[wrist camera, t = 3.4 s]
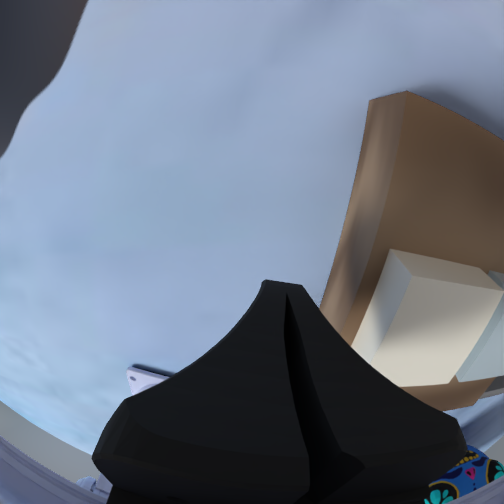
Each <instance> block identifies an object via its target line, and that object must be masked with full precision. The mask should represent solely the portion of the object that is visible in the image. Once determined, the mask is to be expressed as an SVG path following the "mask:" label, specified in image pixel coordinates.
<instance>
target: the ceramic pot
mask: <svg viewBox="0 0 504 504" xmlns="http://www.w3.org/2000/svg"><path fill="white" fill-rule="evenodd" d="M467 447H468V449H467V452H466V454H465V456H464V458H463V459H462V460H461V461H460V462H459V463H458V464H457V465H456V466H454V467H453V468H452V469H451V470H449V471H448V472H447V473H445V474H444V475H442V476H441V477H440V478H438V479H437V480H435V481H434V482H432V483H431V484H429V488H430V493H431V494H430V497H428V498H426V499H424V500H425V504H445V503H448V502H450V501H453V500H455V499H457V498H460V497H462V496H464V495H467V494H469V493H471V492H473V491H475V490H477V489H479V488H481V487H483V486H485V485H487V484H489V483H491V482H493V481H494V480H496V479H498V478H500V477H501V476H503V475H504V466H503V465H502V464H501V463H500V462H498V461H496V460H492V459H489V458H488V457H487V456H486V455H485V454H484V453H483V452H481V451H480V450H478V449H476V448H474V447H472V446H469V445H467Z"/></svg>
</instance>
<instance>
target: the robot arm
mask: <svg viewBox="0 0 504 504" xmlns="http://www.w3.org/2000/svg"><path fill="white" fill-rule="evenodd" d="M126 373H127V377H128V381H129V384H130V388H131V392H132V395H133V396H131V397H128V398H126V399H124V400H123V402H122V403H121V404H120V406H119V407H118V408H117V410H116V411H115V412H114V414H113V415H112V417H111V418H110V420H109V421H108V423H107V424H106V426H105V428H104V430H103V432H102V434H101V436H100V438H99V441H98V443H97V445H96V448H95V450H94V452H93V455H92V460H93V462H94V464H95V466H96V467H97V469H98V470H99V471H100V472H101V473H100V475H99V478H98V481H97V483H96V479H94V478H92V477H90V476H87V477H86V478H81V479H79V480H78V481H77V482H76V483H73V482H71V481H69V480H67V479H65V478H64V477H62V476H60V475H58V474H57V473H55V472H53V471H51V470H49V469H48V468H46V467H44V466H43V465H41V464H40V463H38V462H36V461H35V460H34V459H32V458H31V457H29V456H28V455H26V454H25V453H23V452H22V451H20V450H19V449H17V448H16V447H15V446H13V445H12V444H11V443H9V442H8V441H7V440H6V439H4V438H3V437H2V436H0V504H425V500H424V499H426V498H428V497H430V494H431V493H430V488H429V484H431V483H432V482H434V481H435V480H437V479H438V478H440V477H441V476H442V475H444V474H445V473H447V472H448V471H449V470H451V469H452V468H453V467H454V466H456V465H457V464H458V463H459V462H460V461H461V460H462V459H463V458H464V456H465V454H466V452H467V449H468V447H467V445H466V442H465V439H464V436H463V434H462V431H461V429H460V426H459V424H458V421H457V419H456V418H454V417H452V416H450V415H448V414H446V413H444V412H442V411H439V410H437V409H435V408H433V407H431V406H429V405H427V404H426V403H424V402H422V401H420V400H419V399H417V398H415V397H414V396H412V395H411V394H409V393H407V392H406V391H404V390H403V389H401V388H400V387H398V386H397V385H395V384H394V383H393V382H391V381H390V380H389V379H387V378H386V377H385V376H383V375H382V374H381V373H380V372H378V371H377V370H376V369H375V368H373V367H372V366H371V365H370V364H369V363H368V362H366V361H365V360H364V359H363V358H362V357H361V356H360V355H359V354H358V353H357V352H356V351H355V350H354V349H353V348H352V347H351V346H350V345H349V344H348V343H347V342H346V341H345V340H344V339H343V338H342V337H341V335H340V334H339V333H338V332H337V331H336V330H335V329H334V327H333V326H332V325H331V324H330V323H329V321H328V320H327V319H326V317H325V316H324V315H323V314H322V312H321V311H320V310H319V308H318V307H317V305H316V304H315V303H314V301H313V300H312V298H311V297H310V296H309V294H308V293H307V291H306V290H305V288H304V287H303V286H302V285H299V284H292V283H285V282H279V281H272V280H264V281H263V282H262V284H261V288H260V290H259V293H258V294H257V296H256V298H255V300H254V301H253V303H252V304H251V306H250V307H249V309H248V310H247V312H246V313H245V314H244V315H243V317H242V318H241V319H240V320H239V321H238V323H237V324H236V325H235V326H234V327H233V328H232V329H231V331H230V332H229V333H228V334H227V335H226V336H225V337H224V338H223V339H221V340H220V341H219V342H218V343H217V344H216V345H215V346H214V347H212V348H211V349H210V350H209V351H208V352H206V353H205V354H204V355H203V356H201V357H200V358H199V359H197V360H196V361H195V362H193V363H192V364H190V365H189V366H187V367H186V368H184V369H182V370H181V371H179V372H178V373H176V374H174V375H173V376H171V377H167V376H163V375H159V374H155V373H152V372H148V371H144V370H141V369H137V368H134V367H129V368H128V369H127V371H126ZM445 504H504V475H503V476H501V477H500V478H498V479H496V480H494V481H493V482H491V483H489V484H487V485H485V486H483V487H481V488H479V489H477V490H475V491H473V492H471V493H469V494H467V495H464V496H462V497H460V498H457V499H455V500H453V501H450V502H448V503H445Z"/></svg>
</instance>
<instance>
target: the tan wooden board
mask: <svg viewBox="0 0 504 504" xmlns="http://www.w3.org/2000/svg"><path fill="white" fill-rule="evenodd" d="M390 249H394V250H399V251H404V252H409V253H414V254H418V255H423V256H428V257H433V258H437V259H442V260H446V261H451V262H456V263H460V264H464V265H469V266H473V267H478V268H480V269H481V270H482V271H484V272H485V273H486V274H487V275H488V273H489V270H490V271H495V272H499V273H503V274H504V141H503V140H502V139H500V138H498V137H497V136H495V135H494V134H492V133H491V132H489V131H487V130H486V129H484V128H482V127H481V126H479V125H477V124H475V123H474V122H472V121H470V120H468V119H466V118H464V117H463V116H461V115H459V114H457V113H455V112H453V111H451V110H449V109H447V108H445V107H443V106H441V105H439V104H436V103H434V102H432V101H430V100H428V99H425V98H423V97H421V96H418V95H416V94H413V93H411V92H408V91H404V92H400V93H396V94H392V95H388V96H384V97H380V98H376V99H373V100H369V106H368V112H367V118H366V124H365V130H364V135H363V141H362V146H361V151H360V156H359V161H358V166H357V171H356V175H355V180H354V185H353V189H352V193H351V198H350V202H349V206H348V210H347V214H346V218H345V222H344V226H343V230H342V233H341V237H340V241H339V245H338V248H337V252H336V255H335V259H334V262H333V266H332V269H331V273H330V276H329V279H328V282H327V286H326V289H325V292H324V295H323V298H322V302H321V305H320V308H319V310H320V311H321V312H322V314H323V315H324V316H325V317H326V319H327V320H328V321H329V323H330V324H331V325H332V326H333V327H334V329H335V330H336V331H337V332H338V333H339V334H340V335H341V337H342V338H343V339H344V340H345V341H346V342H347V343H348V344H349V345H350V346H351V345H352V343H353V341H354V339H355V336H356V334H357V332H358V330H359V328H360V325H361V323H362V321H363V318H364V316H365V314H366V311H367V309H368V307H369V304H370V302H371V299H372V297H373V294H374V292H375V289H376V286H377V284H378V281H379V278H380V276H381V273H382V270H383V267H384V265H385V262H386V259H387V256H388V253H389V250H390ZM495 378H496V377H492V378H486V379H480V380H473V381H466V382H459V381H458V379H457V377H456V375H454V377H453V378H452V379H451V381H450V382H449V383H448V384H438V385H425V386H408V387H400V388H401V389H403V390H404V391H406V392H407V393H409V394H411V395H412V396H414V397H415V398H417V399H419V400H420V401H422V402H424V403H426V404H427V405H429V406H431V407H433V408H435V409H437V410H439V411H447V410H453V409H458V408H463V407H468V406H472V405H474V404H475V403H476V401H477V400H478V399H479V398H480V397H481V396H482V394H483V393H484V392H485V391H486V390H487V388H488V387H489V386H490V385H491V383H492V382H493V381H494V379H495Z"/></svg>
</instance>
